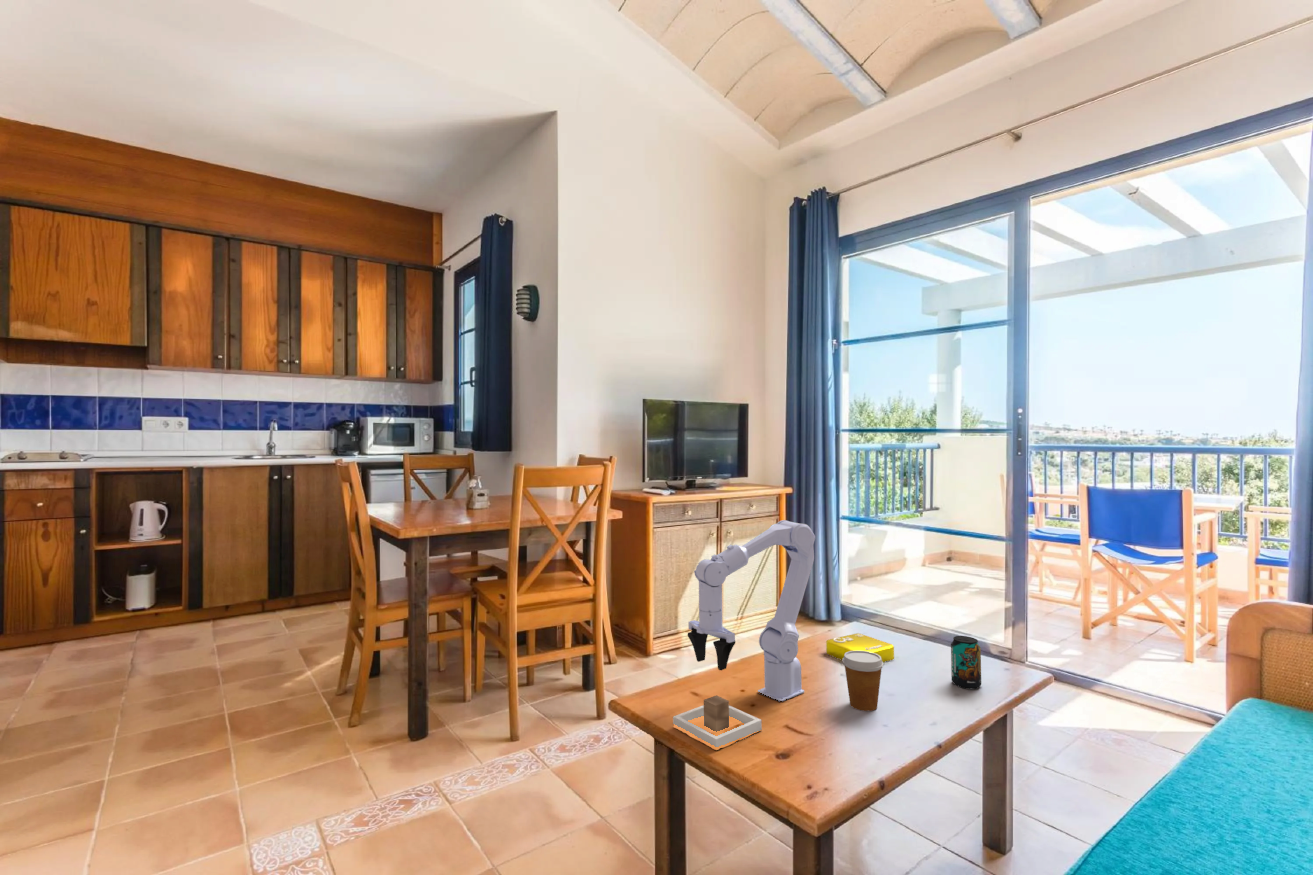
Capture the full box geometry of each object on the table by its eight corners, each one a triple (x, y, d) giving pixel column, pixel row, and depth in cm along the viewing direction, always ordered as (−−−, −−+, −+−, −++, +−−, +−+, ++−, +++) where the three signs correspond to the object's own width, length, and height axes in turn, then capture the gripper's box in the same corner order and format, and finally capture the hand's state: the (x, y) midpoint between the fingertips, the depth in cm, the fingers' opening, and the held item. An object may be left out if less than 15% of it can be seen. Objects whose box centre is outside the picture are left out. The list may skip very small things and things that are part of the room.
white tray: (717, 710, 146) (717, 699, 146) (761, 731, 135) (761, 719, 135) (673, 727, 137) (672, 716, 137) (716, 751, 126) (716, 739, 126)
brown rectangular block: (716, 721, 139) (716, 695, 139) (729, 727, 136) (728, 700, 136) (703, 726, 137) (703, 699, 137) (716, 732, 133) (715, 705, 133)
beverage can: (978, 692, 155) (977, 645, 155) (949, 685, 159) (948, 640, 159) (983, 683, 160) (982, 637, 161) (954, 677, 165) (953, 633, 165)
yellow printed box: (861, 669, 173) (861, 652, 173) (823, 654, 186) (823, 638, 186) (897, 660, 180) (897, 643, 180) (858, 645, 193) (858, 630, 193)
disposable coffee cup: (857, 716, 142) (857, 664, 142) (835, 700, 151) (834, 651, 151) (892, 711, 144) (891, 660, 145) (868, 695, 154) (867, 648, 154)
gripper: (679, 606, 153) (679, 660, 152) (719, 618, 141) (720, 677, 141) (699, 601, 157) (700, 654, 157) (740, 613, 146) (741, 669, 145)
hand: (711, 664), depth 149 cm, fingers open, 7 cm apart
